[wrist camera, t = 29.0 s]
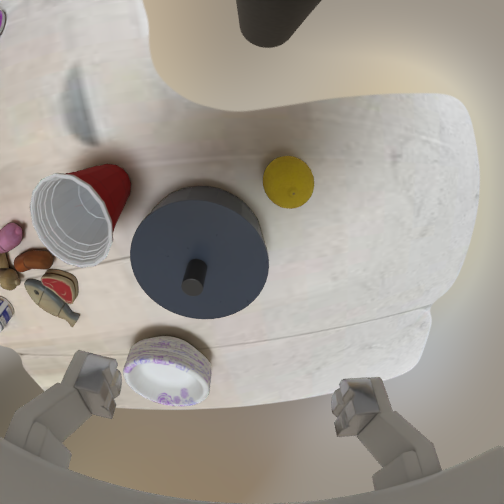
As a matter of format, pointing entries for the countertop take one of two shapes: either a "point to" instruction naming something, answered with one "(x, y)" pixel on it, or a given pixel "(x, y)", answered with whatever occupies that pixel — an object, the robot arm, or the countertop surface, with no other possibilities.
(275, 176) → the lemon
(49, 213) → the plastic cup
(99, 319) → the countertop surface
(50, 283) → the toy food set
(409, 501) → the robot arm
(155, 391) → the paper bowls
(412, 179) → the countertop surface
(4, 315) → the pill bottle
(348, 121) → the countertop surface
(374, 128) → the countertop surface
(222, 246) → the lid
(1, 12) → the supplement bottle
